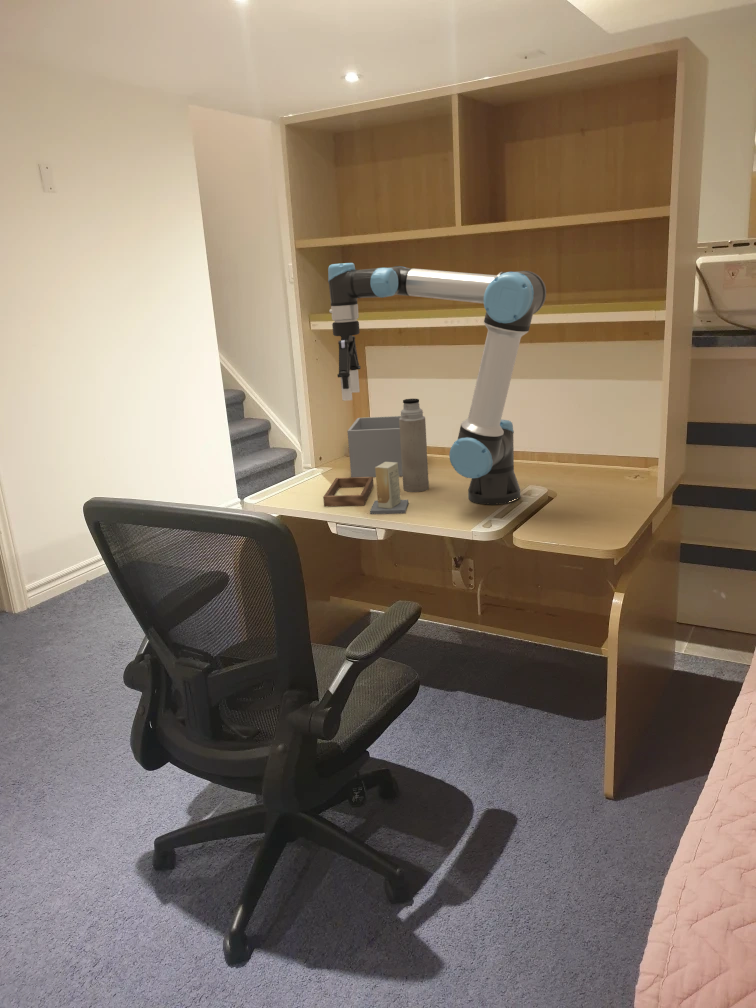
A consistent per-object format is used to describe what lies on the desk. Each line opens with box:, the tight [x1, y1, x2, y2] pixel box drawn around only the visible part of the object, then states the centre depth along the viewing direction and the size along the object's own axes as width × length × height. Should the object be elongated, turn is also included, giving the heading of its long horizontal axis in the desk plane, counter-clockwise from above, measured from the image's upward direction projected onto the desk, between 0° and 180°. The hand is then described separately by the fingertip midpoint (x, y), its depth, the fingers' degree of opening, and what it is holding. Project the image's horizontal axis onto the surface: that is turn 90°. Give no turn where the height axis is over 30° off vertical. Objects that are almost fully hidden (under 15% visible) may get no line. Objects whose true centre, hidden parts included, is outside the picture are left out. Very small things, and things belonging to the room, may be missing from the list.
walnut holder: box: [322, 476, 374, 507], centre depth 239 cm, size 12×21×3 cm, turn 173°
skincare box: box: [375, 462, 402, 509], centre depth 222 cm, size 6×4×12 cm
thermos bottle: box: [399, 398, 430, 493], centre depth 238 cm, size 8×8×28 cm
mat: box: [369, 499, 409, 515], centre depth 224 cm, size 10×10×1 cm
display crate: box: [347, 415, 403, 478], centre depth 266 cm, size 22×22×16 cm
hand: (351, 396), depth 224 cm, fingers open, 13 cm apart
